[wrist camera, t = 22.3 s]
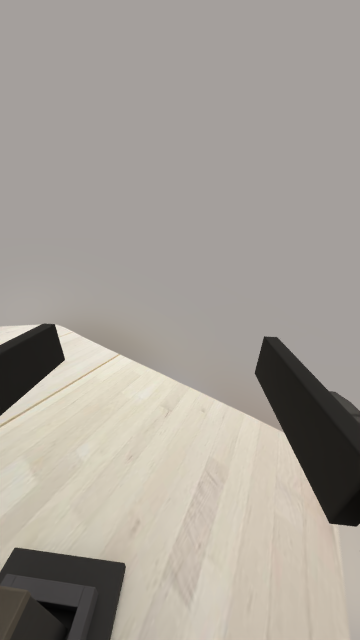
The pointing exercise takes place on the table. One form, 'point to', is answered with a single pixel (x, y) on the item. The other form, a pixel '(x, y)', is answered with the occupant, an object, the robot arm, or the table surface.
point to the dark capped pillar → (26, 618)
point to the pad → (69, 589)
